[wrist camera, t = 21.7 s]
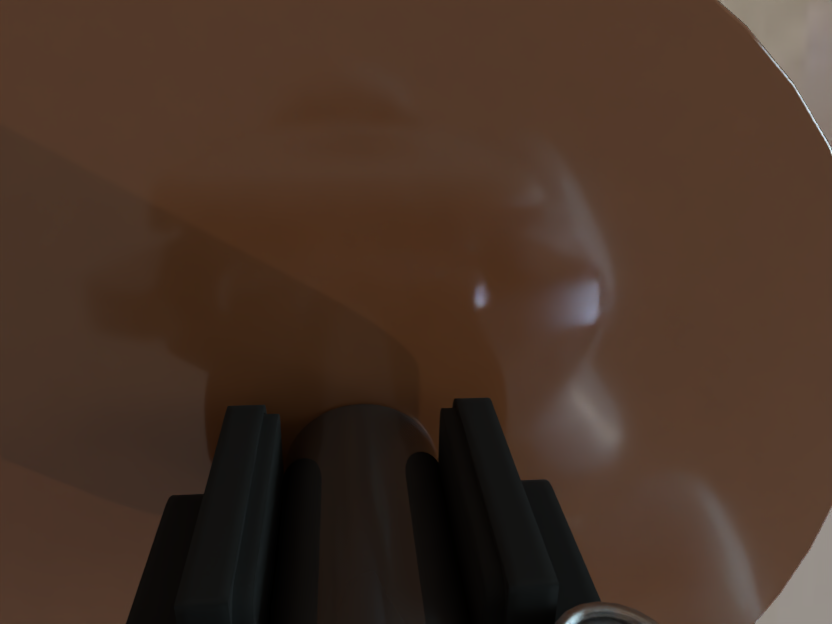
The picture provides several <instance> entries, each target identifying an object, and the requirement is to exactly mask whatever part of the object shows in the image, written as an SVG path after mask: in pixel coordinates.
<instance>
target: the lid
mask: <svg viewBox="0 0 832 624" xmlns="http://www.w3.org/2000/svg"><path fill="white" fill-rule="evenodd" d="M487 397H488V398H490V399H491V401H492V403H493V406H494V409H495V412H496V414H497V417H498V420H499V422H500V425H501V428H502V430H503V433H504V436H505V439H506V441H507V444H508V447H509V449H510V452H511V455H512V458H513V460H514V463H515V466H516V468H517V471H518V474H519V476H520V479H521V480H538V479H546V480H548V481H549V482H550V484H551V486H552V487H553V490H554V492H555V494H556V497H557V499H558V501H559V504H560V506H561V508H562V511H563V513H564V515H565V518H566V520H567V522H568V525H569V527H570V529H571V532H572V534H573V536H574V539H575V541H576V543H577V546H578V548H579V550H580V553H581V555H582V557H583V560H584V562H585V564H586V567H587V569H588V572H589V574H590V576H591V579H592V581H593V583H594V586H595V588H596V590H597V593H598V595H599V597H600V600H601V602H610V603H618V604H621V605H624V606H627V607H631V608H634V609H637V610H638V611H640V612H642V613H644V614H645V615H647V616H649V617H651V618H652V619H654V620H655V621H656V622H657V623H658V624H755V623H756V622H757V621H758V619H759V618H760V617H761V616H762V615H763V614H764V612H765V611H766V610H767V609H768V608H769V607H770V605H771V604H772V603H773V602H774V601H775V600H776V598H777V597H778V596H779V595H780V593H781V592H782V591H783V589H784V588H785V586H786V585H787V583H788V582H789V580H790V579H791V577H792V576H793V574H794V573H795V571H796V570H797V568H798V567H799V565H800V564H801V562H802V561H803V559H804V558H805V556H806V555H807V554H808V552H809V551H810V549H811V547H812V545H813V543H814V541H815V539H816V537H817V536H818V534H819V532H820V530H821V528H822V526H823V524H824V522H825V520H826V518H827V516H828V514H829V512H830V510H831V508H832V149H831V146H830V144H829V142H828V141H827V139H826V137H825V135H824V134H823V132H822V130H821V129H820V127H819V125H818V124H817V122H816V120H815V118H814V117H813V115H812V113H811V112H810V110H809V108H808V106H807V105H806V103H805V101H804V100H803V98H802V96H801V95H800V93H799V91H798V89H797V88H796V86H795V84H794V83H793V82H792V80H791V79H790V78H789V77H788V75H787V74H786V73H785V72H784V71H783V69H782V68H781V67H780V66H779V64H778V63H777V62H776V61H775V60H774V58H773V57H772V56H771V55H770V54H769V52H768V51H767V50H766V49H765V47H764V46H763V45H762V44H761V43H760V41H759V40H758V39H757V38H756V37H755V35H754V34H753V33H752V32H751V30H750V29H749V28H748V27H747V26H746V25H745V24H744V23H743V22H742V21H741V20H740V19H739V18H737V17H736V16H735V15H734V14H733V13H732V12H731V11H730V10H728V9H727V8H726V7H725V6H724V5H723V4H722V3H721V2H719V1H718V0H0V624H126V622H127V619H128V616H129V613H130V610H131V607H132V604H133V601H134V598H135V595H136V592H137V589H138V586H139V583H140V580H141V577H142V574H143V571H144V568H145V565H146V562H147V559H148V556H149V553H150V550H151V547H152V544H153V541H154V538H155V535H156V532H157V529H158V526H159V523H160V520H161V517H162V514H163V511H164V508H165V505H166V503H167V501H168V499H169V497H170V496H172V495H189V494H204V491H205V488H206V484H207V480H208V476H209V473H210V469H211V465H212V461H213V458H214V454H215V450H216V446H217V443H218V439H219V435H220V431H221V428H222V424H223V420H224V416H225V413H226V409H227V407H228V406H239V405H265V406H266V411H267V414H279V415H280V423H281V439H282V455H283V471H284V478H283V487H282V496H281V505H280V514H279V523H278V532H277V541H276V550H275V559H274V568H273V577H272V586H271V594H270V603H269V612H268V621H267V624H472V621H471V616H470V611H469V607H468V602H467V597H466V592H465V588H464V583H463V578H462V573H461V568H460V564H459V559H458V554H457V549H456V545H455V540H454V535H453V530H452V526H451V521H450V516H449V511H448V507H447V502H446V497H445V492H444V488H443V483H442V478H441V473H440V469H439V464H438V454H439V426H440V411H441V408H452V406H453V401H454V399H455V398H487Z"/></svg>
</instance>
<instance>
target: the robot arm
mask: <svg viewBox="0 0 832 624" xmlns="http://www.w3.org/2000/svg"><path fill="white" fill-rule="evenodd" d="M438 464H439V469H440V473H441V478H442V483H443V488H444V492H445V497H446V502H447V507H448V511H449V516H450V521H451V526H452V530H453V535H454V540H455V545H456V549H457V554H458V559H459V564H460V568H461V573H462V578H463V583H464V588H465V592H466V597H467V602H468V607H469V611H470V616H471V621H472V624H658V623H657V622H656V621H655V620H654V619H652V618H651V617H649V616H647V615H645V614H644V613H642V612H640V611H638V610H637V609H634V608H631V607H627V606H624V605H621V604H618V603H610V602H601V600H600V597H599V595H598V593H597V590H596V588H595V586H594V583H593V581H592V579H591V576H590V574H589V572H588V569H587V567H586V564H585V562H584V560H583V557H582V555H581V553H580V550H579V548H578V546H577V543H576V541H575V539H574V536H573V534H572V532H571V529H570V527H569V525H568V522H567V520H566V518H565V515H564V513H563V511H562V508H561V506H560V504H559V501H558V499H557V497H556V494H555V492H554V490H553V487H552V486H551V484H550V482H549V481H548V480H546V479H538V480H521V479H520V476H519V474H518V471H517V468H516V466H515V463H514V460H513V458H512V455H511V452H510V449H509V447H508V444H507V441H506V439H505V436H504V433H503V430H502V428H501V425H500V422H499V420H498V417H497V414H496V412H495V409H494V406H493V403H492V401H491V399H490V398H488V397H487V398H455V399H454V401H453V406H452V408H441V411H440V426H439V454H438ZM283 478H284V471H283V455H282V439H281V423H280V415H279V414H267V411H266V406H265V405H239V406H228V407H227V409H226V413H225V416H224V420H223V424H222V428H221V431H220V435H219V439H218V443H217V446H216V450H215V454H214V458H213V461H212V465H211V469H210V473H209V476H208V480H207V484H206V488H205V491H204V494H189V495H172V496H170V497H169V499H168V501H167V503H166V505H165V508H164V511H163V514H162V517H161V520H160V523H159V526H158V529H157V532H156V535H155V538H154V541H153V544H152V547H151V550H150V553H149V556H148V559H147V562H146V565H145V568H144V571H143V574H142V577H141V580H140V583H139V586H138V589H137V592H136V595H135V598H134V601H133V604H132V607H131V610H130V613H129V616H128V619H127V622H126V624H267V621H268V612H269V603H270V594H271V586H272V577H273V568H274V559H275V550H276V541H277V532H278V523H279V514H280V505H281V496H282V487H283Z"/></svg>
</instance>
